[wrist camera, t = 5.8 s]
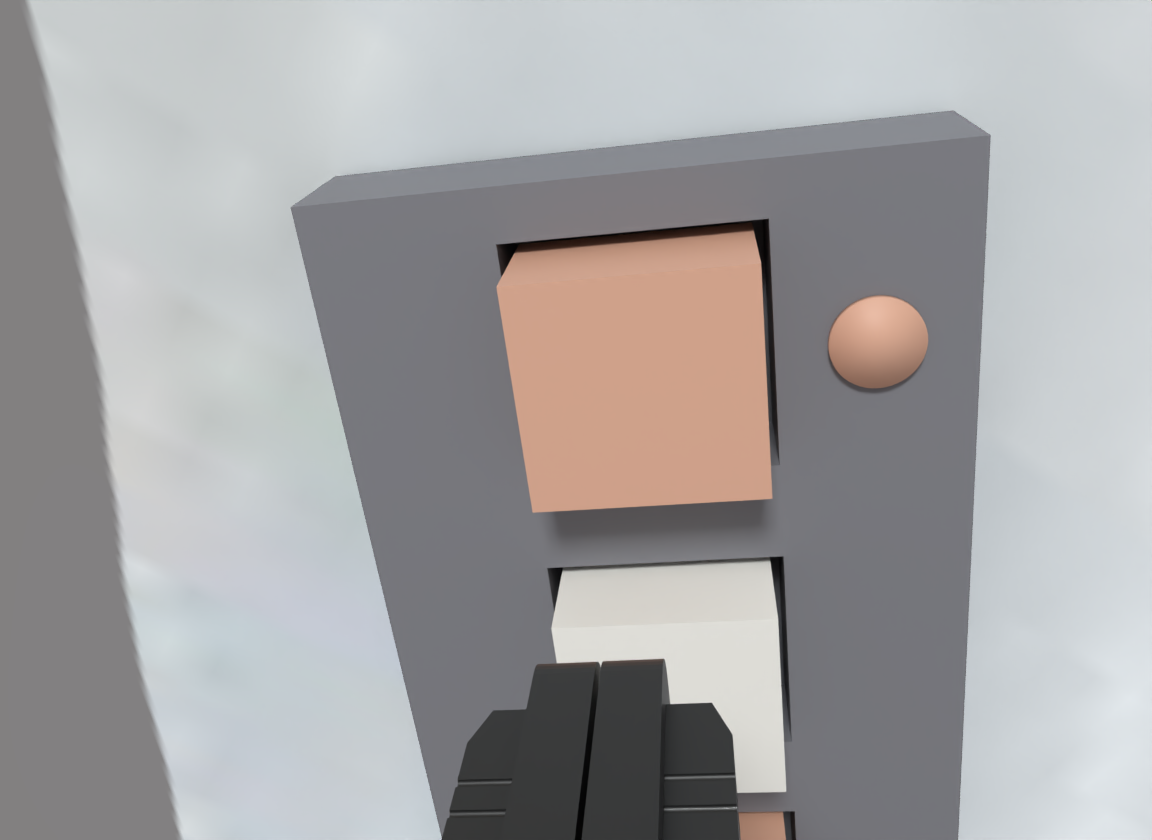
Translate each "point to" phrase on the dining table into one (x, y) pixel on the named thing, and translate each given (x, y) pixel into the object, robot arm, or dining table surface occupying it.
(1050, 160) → the dining table surface
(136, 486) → the dining table surface
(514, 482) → the keypad
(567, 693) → the robot arm
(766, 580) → the key middle
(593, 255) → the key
